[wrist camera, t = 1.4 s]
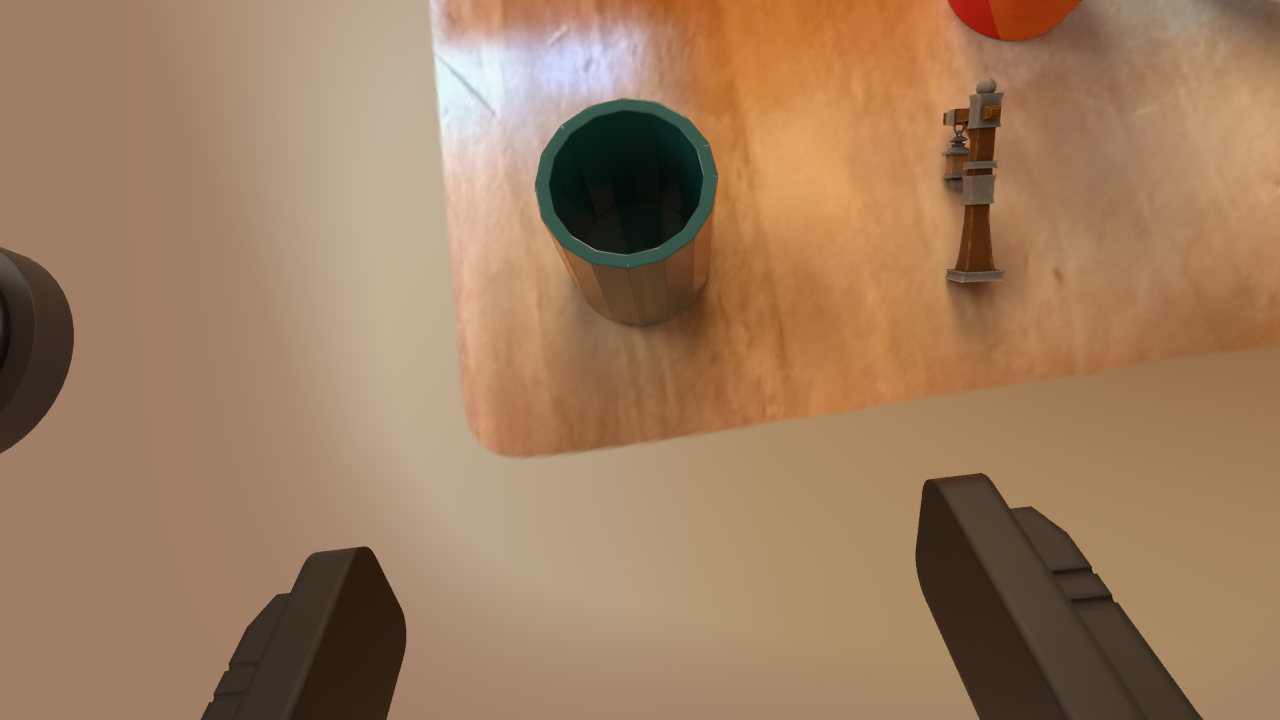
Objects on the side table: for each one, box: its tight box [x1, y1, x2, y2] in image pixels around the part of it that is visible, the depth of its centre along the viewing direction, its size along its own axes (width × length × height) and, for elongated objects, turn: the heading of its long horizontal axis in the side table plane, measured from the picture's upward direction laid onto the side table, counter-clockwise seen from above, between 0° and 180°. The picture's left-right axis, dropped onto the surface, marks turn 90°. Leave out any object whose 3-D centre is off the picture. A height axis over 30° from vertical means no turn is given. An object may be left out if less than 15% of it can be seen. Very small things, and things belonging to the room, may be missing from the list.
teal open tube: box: [535, 98, 718, 326], centre depth 28 cm, size 6×6×8 cm
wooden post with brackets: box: [942, 78, 1005, 282], centre depth 30 cm, size 2×8×4 cm, turn 2°
